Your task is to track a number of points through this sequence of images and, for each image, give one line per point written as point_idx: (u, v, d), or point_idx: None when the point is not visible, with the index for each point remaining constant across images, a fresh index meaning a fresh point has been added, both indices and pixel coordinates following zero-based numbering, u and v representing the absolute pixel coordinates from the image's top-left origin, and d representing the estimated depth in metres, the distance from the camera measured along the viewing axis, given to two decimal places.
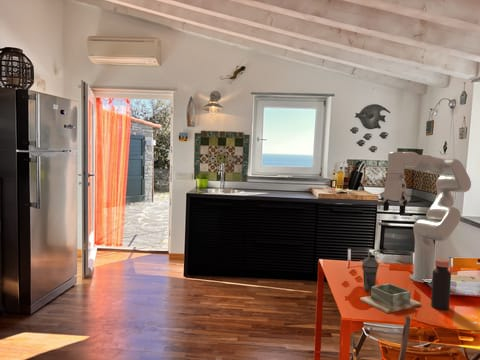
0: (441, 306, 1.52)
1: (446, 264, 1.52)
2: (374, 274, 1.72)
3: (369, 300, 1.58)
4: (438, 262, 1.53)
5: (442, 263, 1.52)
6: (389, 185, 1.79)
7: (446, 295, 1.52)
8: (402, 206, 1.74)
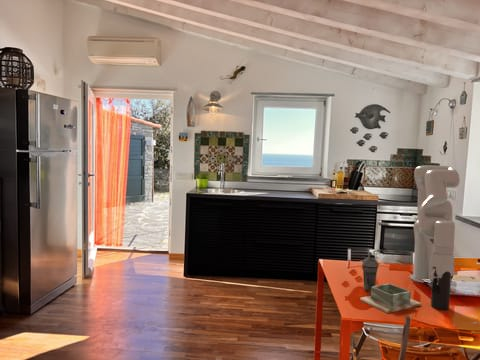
0: (441, 306, 1.52)
1: None
2: (374, 274, 1.72)
3: (369, 300, 1.58)
4: None
5: None
6: (446, 262, 1.51)
7: (446, 295, 1.51)
8: None
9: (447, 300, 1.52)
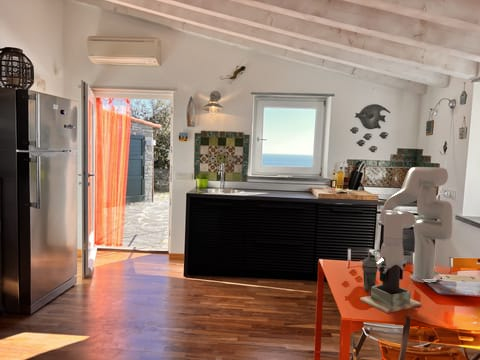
0: None
1: None
2: (374, 274, 1.72)
3: (369, 300, 1.58)
4: None
5: None
6: (394, 252, 1.55)
7: (395, 288, 1.55)
8: None
9: (396, 293, 1.56)
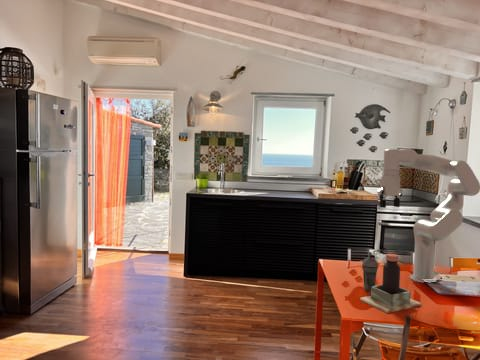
0: None
1: (395, 258, 1.55)
2: (374, 274, 1.72)
3: (369, 300, 1.58)
4: (388, 256, 1.57)
5: (391, 257, 1.56)
6: (392, 182, 1.83)
7: (396, 289, 1.55)
8: None
9: (396, 293, 1.56)
